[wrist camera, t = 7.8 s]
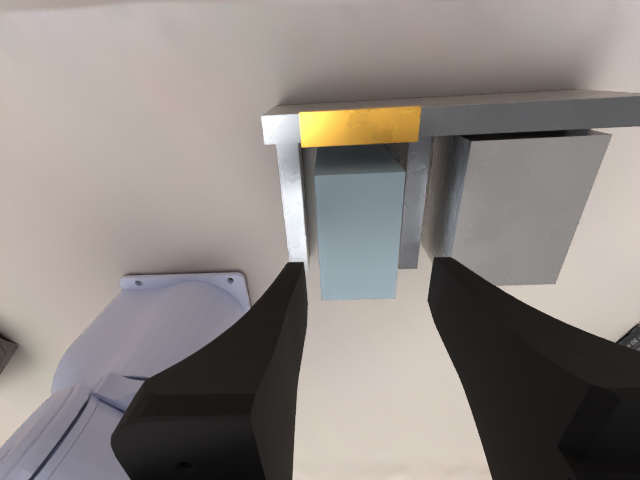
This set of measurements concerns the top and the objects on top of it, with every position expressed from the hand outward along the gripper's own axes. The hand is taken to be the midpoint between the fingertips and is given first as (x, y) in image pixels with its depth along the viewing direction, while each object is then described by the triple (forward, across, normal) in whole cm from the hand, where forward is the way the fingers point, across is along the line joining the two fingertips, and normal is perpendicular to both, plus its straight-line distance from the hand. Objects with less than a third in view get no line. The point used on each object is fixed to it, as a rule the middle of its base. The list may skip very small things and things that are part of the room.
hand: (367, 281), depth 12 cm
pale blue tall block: (+10, 0, 0) cm, 10 cm away
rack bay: (+9, -4, -1) cm, 10 cm away
